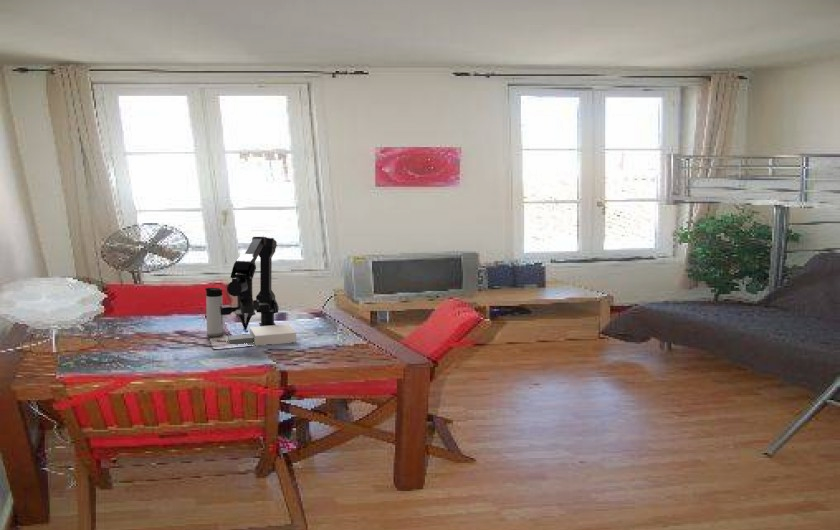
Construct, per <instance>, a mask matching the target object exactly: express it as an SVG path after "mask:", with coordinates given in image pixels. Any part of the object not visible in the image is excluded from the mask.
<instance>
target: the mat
mask: <svg viewBox="0 0 840 530" xmlns="http://www.w3.org/2000/svg"><path fill="white" fill-rule="evenodd" d="M220 339H224V340H226V342H227V341H228V336H224V337H213V338H209V341H211V342H214V341H217V340H220ZM211 342H210V343H211ZM245 344H246V343H245ZM247 344H248V345H251V346H252V345H253V346H254V347H255V344H254V343H247Z"/></svg>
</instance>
